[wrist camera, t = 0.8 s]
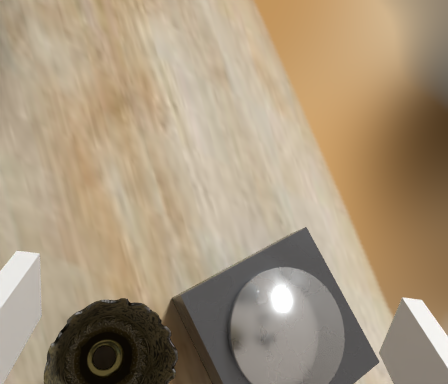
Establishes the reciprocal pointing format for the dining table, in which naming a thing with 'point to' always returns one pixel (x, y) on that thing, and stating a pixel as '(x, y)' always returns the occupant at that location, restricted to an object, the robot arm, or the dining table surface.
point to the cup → (112, 346)
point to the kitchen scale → (276, 320)
